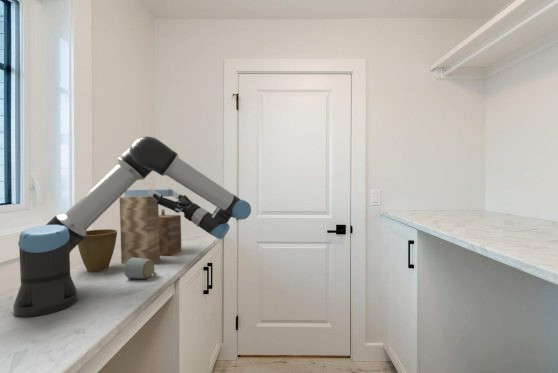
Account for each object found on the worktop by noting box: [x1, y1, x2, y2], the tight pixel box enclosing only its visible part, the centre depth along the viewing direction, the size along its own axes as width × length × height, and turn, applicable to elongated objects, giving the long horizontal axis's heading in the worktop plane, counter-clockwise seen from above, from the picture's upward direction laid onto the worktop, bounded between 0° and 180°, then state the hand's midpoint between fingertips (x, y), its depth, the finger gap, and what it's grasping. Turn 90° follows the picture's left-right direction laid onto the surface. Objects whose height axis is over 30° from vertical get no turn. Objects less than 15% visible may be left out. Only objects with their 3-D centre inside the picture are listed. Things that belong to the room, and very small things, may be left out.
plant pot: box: [77, 228, 118, 273], centre depth 124 cm, size 15×15×16 cm
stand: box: [119, 196, 161, 265], centre depth 135 cm, size 14×8×30 cm, turn 77°
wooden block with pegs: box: [159, 208, 182, 257], centre depth 151 cm, size 16×11×22 cm, turn 77°
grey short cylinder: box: [124, 257, 155, 280], centre depth 114 cm, size 11×8×8 cm
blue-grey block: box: [124, 188, 174, 198], centre depth 134 cm, size 22×4×3 cm, turn 77°
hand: (158, 190), depth 133 cm, fingers open, 13 cm apart
